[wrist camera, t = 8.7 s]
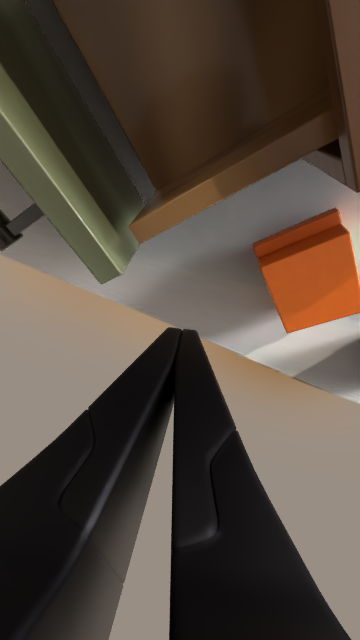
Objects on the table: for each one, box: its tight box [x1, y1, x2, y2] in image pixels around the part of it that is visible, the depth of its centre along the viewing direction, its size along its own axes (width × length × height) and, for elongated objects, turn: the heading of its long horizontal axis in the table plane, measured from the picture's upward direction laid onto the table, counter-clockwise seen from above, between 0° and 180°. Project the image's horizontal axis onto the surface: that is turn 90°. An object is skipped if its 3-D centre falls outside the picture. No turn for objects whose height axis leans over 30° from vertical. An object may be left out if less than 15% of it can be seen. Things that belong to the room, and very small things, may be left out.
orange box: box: [253, 208, 360, 333], centre depth 17 cm, size 5×7×3 cm
